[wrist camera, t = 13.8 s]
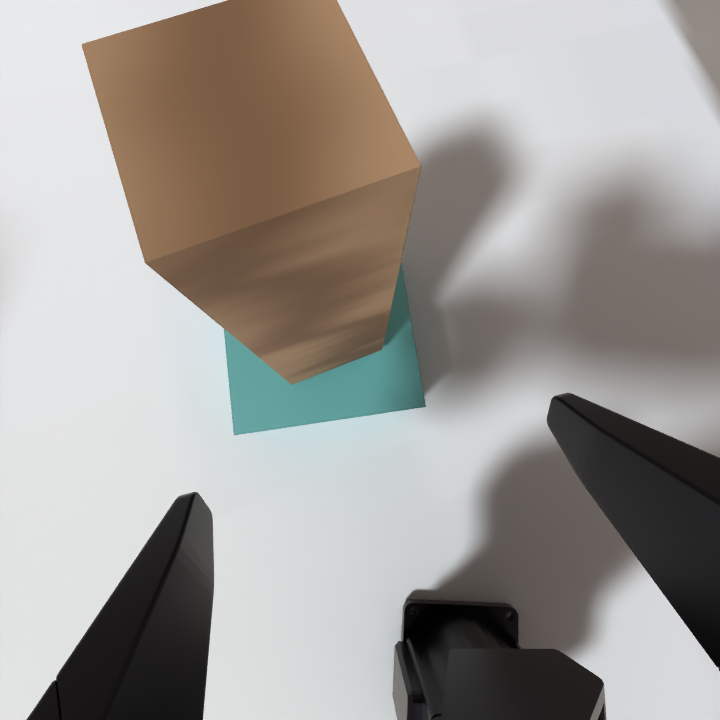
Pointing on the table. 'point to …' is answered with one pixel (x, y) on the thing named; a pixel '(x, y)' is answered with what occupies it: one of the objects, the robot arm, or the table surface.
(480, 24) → the table surface
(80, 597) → the table surface
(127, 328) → the table surface
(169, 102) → the walnut pillar
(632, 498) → the robot arm
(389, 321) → the teal base block
